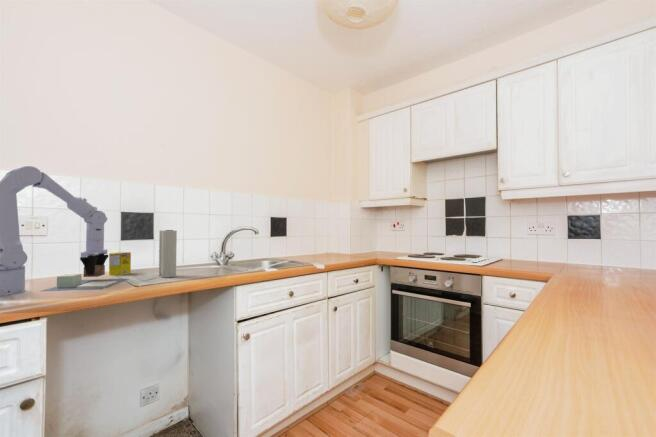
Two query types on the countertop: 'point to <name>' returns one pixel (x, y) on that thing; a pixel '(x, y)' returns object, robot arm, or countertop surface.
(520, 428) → the countertop surface
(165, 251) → the tall grey block
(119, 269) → the supplement box
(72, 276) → the sage block
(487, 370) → the countertop surface
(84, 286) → the board
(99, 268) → the walnut block
